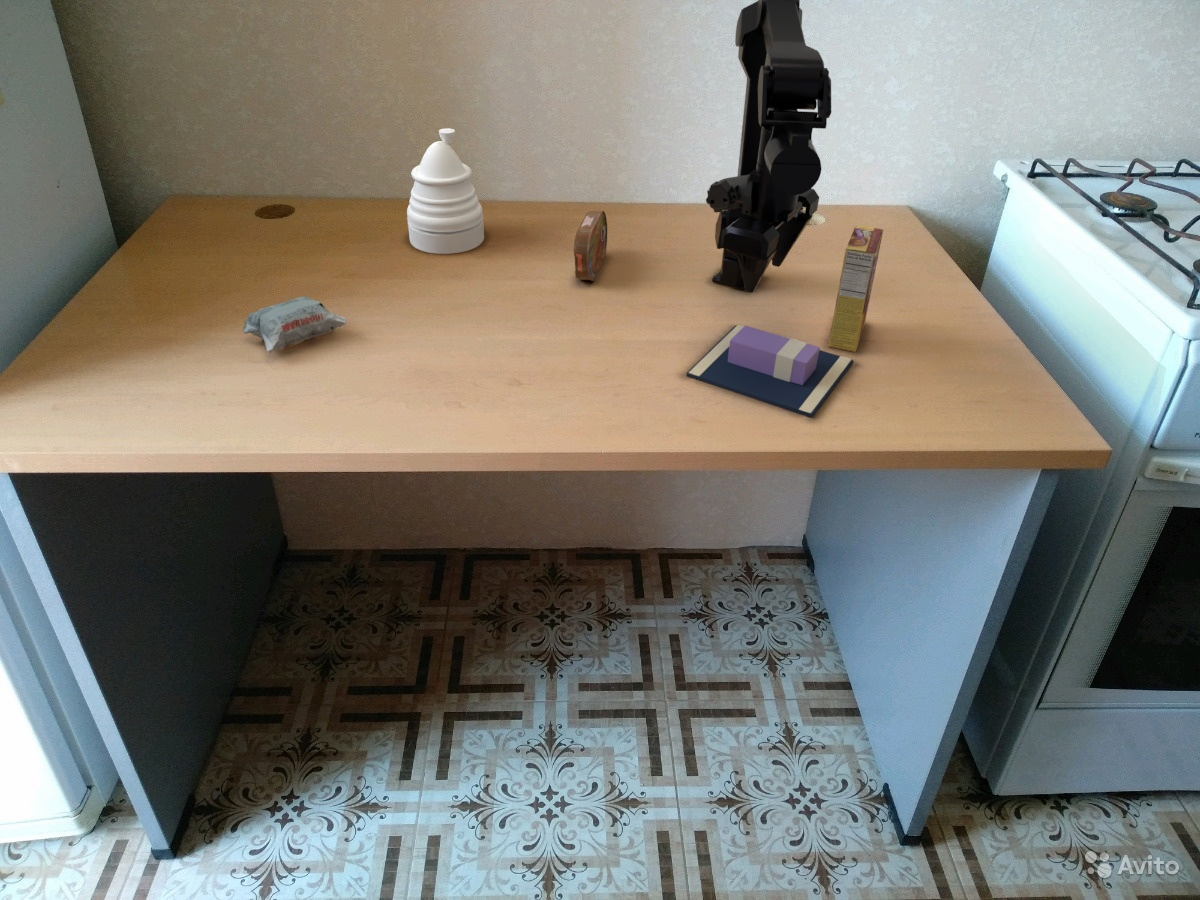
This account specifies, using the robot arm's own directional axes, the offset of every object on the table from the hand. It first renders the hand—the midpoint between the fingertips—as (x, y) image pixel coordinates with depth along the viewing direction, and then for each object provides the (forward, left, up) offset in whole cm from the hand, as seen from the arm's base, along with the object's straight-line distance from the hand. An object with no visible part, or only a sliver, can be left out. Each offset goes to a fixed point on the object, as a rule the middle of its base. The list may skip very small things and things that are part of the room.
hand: (763, 278), depth 120 cm
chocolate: (+4, +4, -11) cm, 12 cm away
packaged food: (+34, -55, -11) cm, 66 cm away
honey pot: (-5, -60, -11) cm, 62 cm away
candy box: (-11, +10, -11) cm, 19 cm away
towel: (+4, +4, -11) cm, 13 cm away
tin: (-9, -33, -11) cm, 36 cm away
